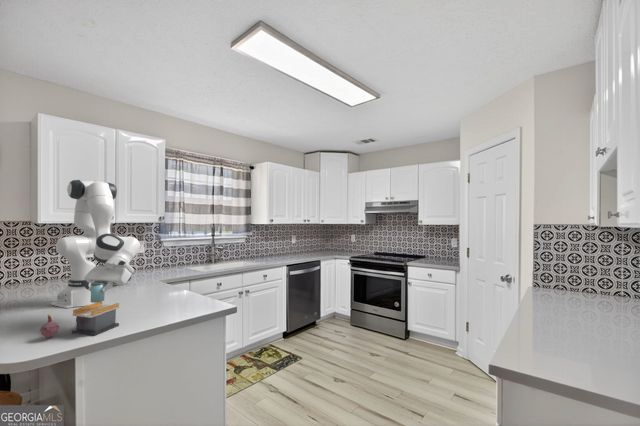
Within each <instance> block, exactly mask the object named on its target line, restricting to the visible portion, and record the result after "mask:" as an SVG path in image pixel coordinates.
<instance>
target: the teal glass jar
mask: <svg viewBox="0 0 640 426" xmlns="http://www.w3.org/2000/svg"><path fill="white" fill-rule="evenodd" d="M102 287H105V282H95V283H91V302H92V303H97V302H102V303H103V302H104V301H105V293H106V292H101V291H100V290H101V289H102Z"/></svg>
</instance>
